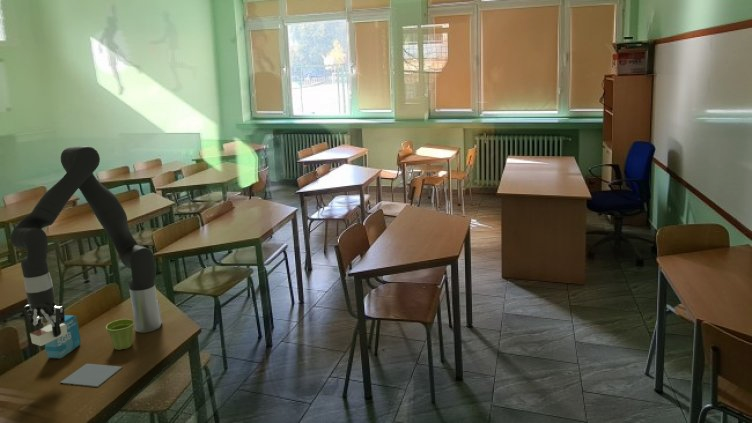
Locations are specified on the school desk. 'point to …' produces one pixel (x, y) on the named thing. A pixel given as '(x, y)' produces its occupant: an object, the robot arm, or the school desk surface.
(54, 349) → the data package
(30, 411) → the school desk surface
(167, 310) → the school desk surface
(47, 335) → the white rectangular block
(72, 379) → the mat
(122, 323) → the plant pot
